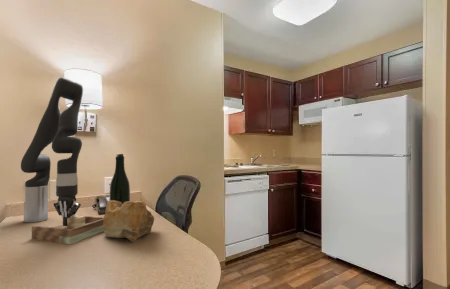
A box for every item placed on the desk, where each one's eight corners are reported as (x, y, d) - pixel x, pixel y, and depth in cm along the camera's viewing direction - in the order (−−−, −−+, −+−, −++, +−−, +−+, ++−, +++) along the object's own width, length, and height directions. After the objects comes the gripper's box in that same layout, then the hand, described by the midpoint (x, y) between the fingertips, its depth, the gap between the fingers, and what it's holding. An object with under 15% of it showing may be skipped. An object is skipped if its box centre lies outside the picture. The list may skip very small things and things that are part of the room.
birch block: (67, 229, 98) (67, 218, 98) (77, 226, 102) (77, 215, 102) (75, 230, 96) (75, 218, 96) (85, 226, 101) (85, 216, 101)
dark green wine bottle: (133, 214, 131) (133, 153, 132) (114, 218, 123) (114, 153, 124) (124, 211, 137) (124, 153, 139) (105, 215, 130) (106, 154, 131)
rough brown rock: (168, 238, 95) (169, 199, 97) (129, 247, 82) (132, 203, 84) (135, 229, 110) (137, 195, 112) (98, 236, 97) (101, 198, 99)
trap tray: (31, 239, 94) (31, 226, 94) (73, 225, 111) (73, 214, 111) (69, 244, 88) (70, 230, 88) (107, 229, 105) (107, 217, 105)
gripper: (46, 184, 100) (46, 227, 99) (70, 185, 95) (70, 229, 95) (63, 182, 107) (63, 222, 106) (86, 183, 103) (86, 224, 102)
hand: (66, 225), depth 100 cm, fingers closed
